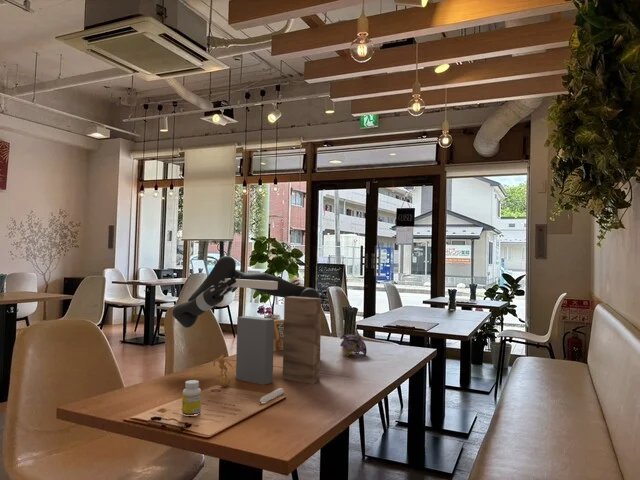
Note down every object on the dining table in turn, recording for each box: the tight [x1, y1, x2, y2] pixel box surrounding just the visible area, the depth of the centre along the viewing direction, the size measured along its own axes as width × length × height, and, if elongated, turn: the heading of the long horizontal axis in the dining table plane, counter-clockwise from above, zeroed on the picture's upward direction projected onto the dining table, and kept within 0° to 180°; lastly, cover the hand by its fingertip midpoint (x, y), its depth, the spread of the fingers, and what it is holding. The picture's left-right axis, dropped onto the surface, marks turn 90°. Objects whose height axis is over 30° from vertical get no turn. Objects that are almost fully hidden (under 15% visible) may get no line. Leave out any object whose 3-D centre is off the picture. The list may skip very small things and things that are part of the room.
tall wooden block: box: [282, 296, 322, 385], centre depth 190 cm, size 5×14×32 cm, turn 59°
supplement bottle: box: [181, 379, 202, 415], centre depth 146 cm, size 5×5×10 cm
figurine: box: [213, 354, 234, 388], centre depth 177 cm, size 8×6×12 cm
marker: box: [258, 387, 285, 403], centre depth 163 cm, size 3×2×16 cm
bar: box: [225, 278, 278, 290], centre depth 190 cm, size 3×24×3 cm, turn 59°
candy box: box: [273, 318, 284, 352], centre depth 250 cm, size 9×4×15 cm, turn 129°
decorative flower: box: [339, 333, 368, 357], centre depth 239 cm, size 15×12×15 cm
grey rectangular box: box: [235, 315, 275, 386], centre depth 188 cm, size 5×14×24 cm, turn 59°
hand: (237, 279), depth 194 cm, fingers closed on bar, 3 cm apart
